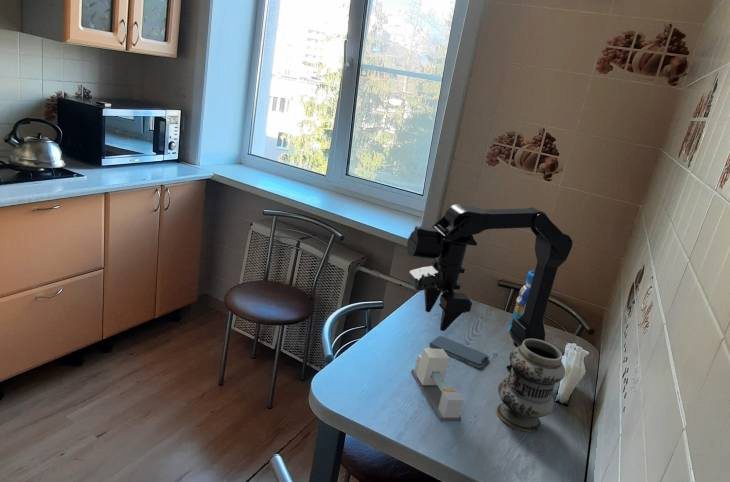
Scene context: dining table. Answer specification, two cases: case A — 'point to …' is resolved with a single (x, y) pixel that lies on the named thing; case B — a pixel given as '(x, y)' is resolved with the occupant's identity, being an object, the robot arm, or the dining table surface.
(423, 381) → the white block
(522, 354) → the apothecary jar
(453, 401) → the grey piece
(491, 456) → the dining table surface
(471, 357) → the smartphone
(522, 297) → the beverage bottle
